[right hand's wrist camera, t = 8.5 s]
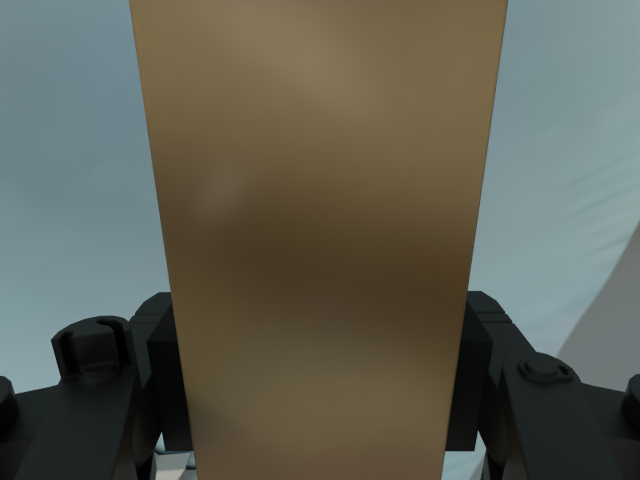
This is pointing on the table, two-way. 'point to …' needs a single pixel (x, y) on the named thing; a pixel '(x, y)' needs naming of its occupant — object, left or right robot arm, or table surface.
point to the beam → (318, 222)
